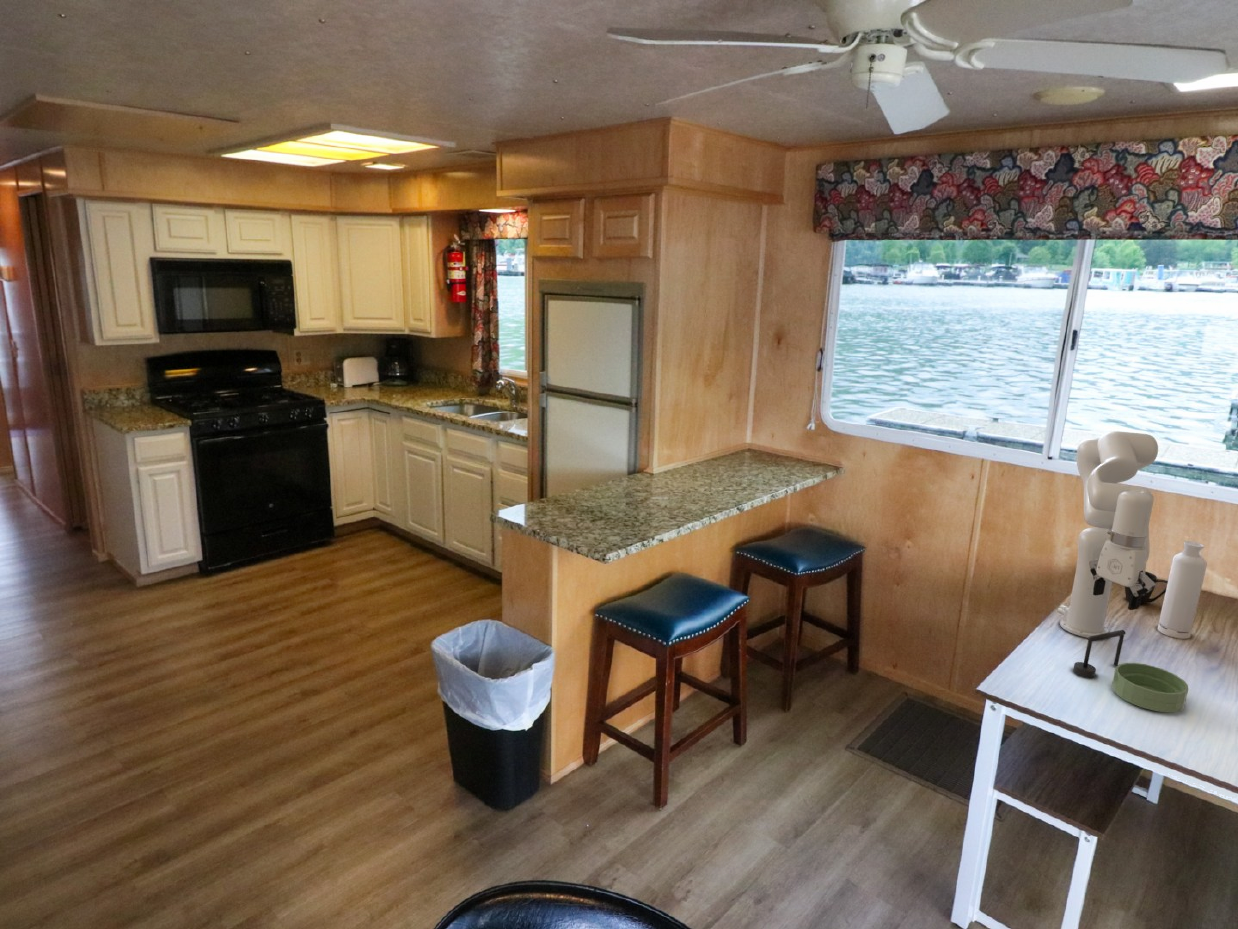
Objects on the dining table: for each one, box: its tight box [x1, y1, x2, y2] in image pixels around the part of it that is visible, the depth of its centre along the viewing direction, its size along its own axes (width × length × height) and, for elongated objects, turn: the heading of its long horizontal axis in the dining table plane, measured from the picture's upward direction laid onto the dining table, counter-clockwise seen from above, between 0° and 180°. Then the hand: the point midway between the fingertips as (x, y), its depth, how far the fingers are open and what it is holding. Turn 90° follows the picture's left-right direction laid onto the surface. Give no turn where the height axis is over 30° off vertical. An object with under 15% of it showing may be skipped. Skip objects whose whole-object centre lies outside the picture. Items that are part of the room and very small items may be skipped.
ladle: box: [1072, 629, 1126, 679], centre depth 208 cm, size 15×5×11 cm, turn 112°
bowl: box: [1111, 662, 1189, 713], centre depth 195 cm, size 15×15×6 cm
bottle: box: [1157, 540, 1208, 640], centre depth 229 cm, size 8×8×28 cm
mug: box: [1124, 570, 1168, 606], centre depth 252 cm, size 8×12×10 cm
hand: (1115, 601), depth 204 cm, fingers open, 9 cm apart
